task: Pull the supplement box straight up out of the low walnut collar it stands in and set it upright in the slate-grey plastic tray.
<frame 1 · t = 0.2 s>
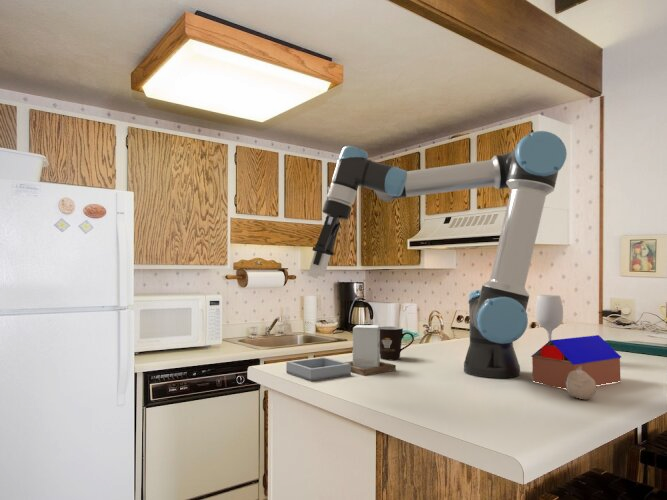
hand: (316, 276, 130), 27 cm above the counter, tool tilted 20°, fingers open, 13 cm apart
garlic bulb: (581, 399, 106), on the counter
grey tray: (318, 373, 132), on the counter
house: (576, 383, 122), on the counter
walnut collar: (366, 369, 138), on the counter
coffee mug: (393, 359, 155), on the counter
wineglass: (550, 361, 151), on the counter
supplement box: (366, 370, 138), resting in walnut collar
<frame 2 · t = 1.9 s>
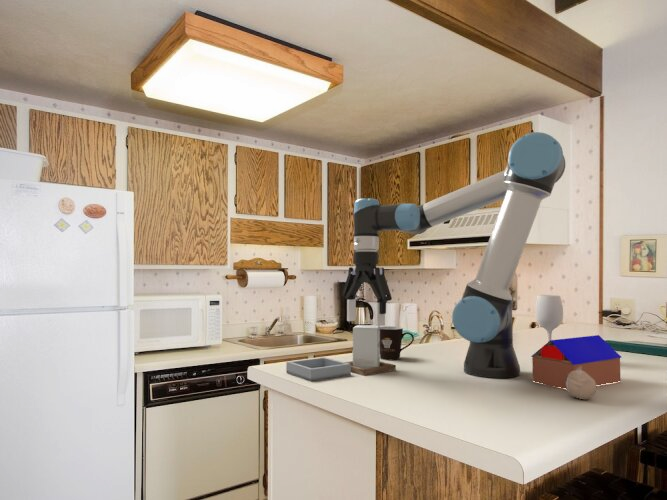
hand: (365, 323, 139), 13 cm above the counter, tool pointing down, fingers open, 13 cm apart
nothing on the counter moved.
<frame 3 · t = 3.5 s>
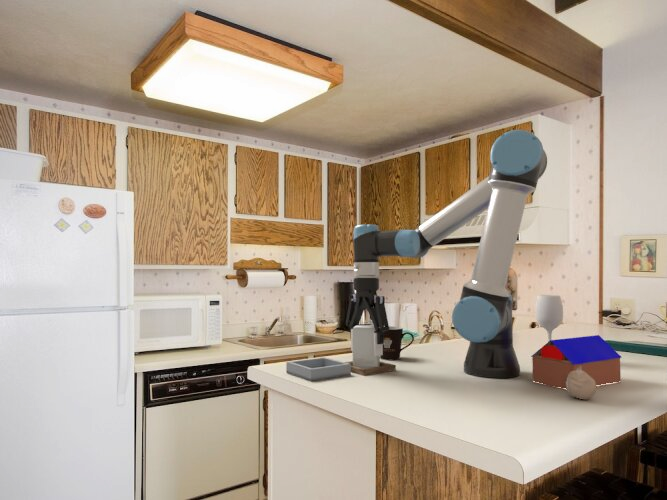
hand: (366, 352, 138), 5 cm above the counter, tool pointing down, fingers closed on supplement box, 10 cm apart
supplement box: (366, 369, 138), resting in walnut collar, touching gripper
everything else where it was.
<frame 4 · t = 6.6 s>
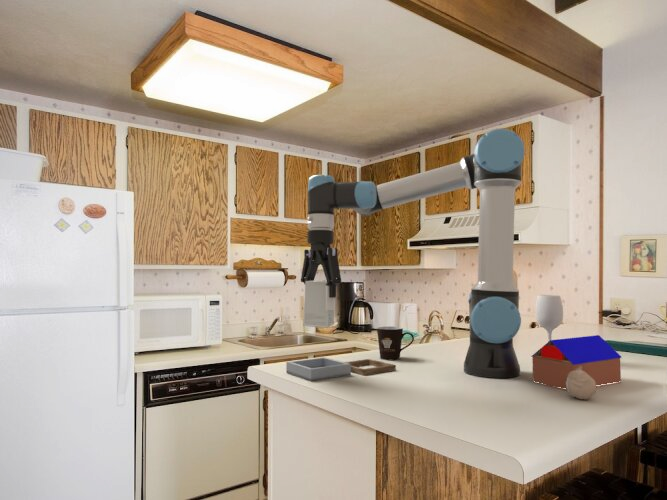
hand: (319, 308, 133), 18 cm above the counter, tool pointing down, fingers closed on supplement box, 10 cm apart
supplement box: (318, 326, 133), point 13 cm above the counter, touching gripper
everything else where it was.
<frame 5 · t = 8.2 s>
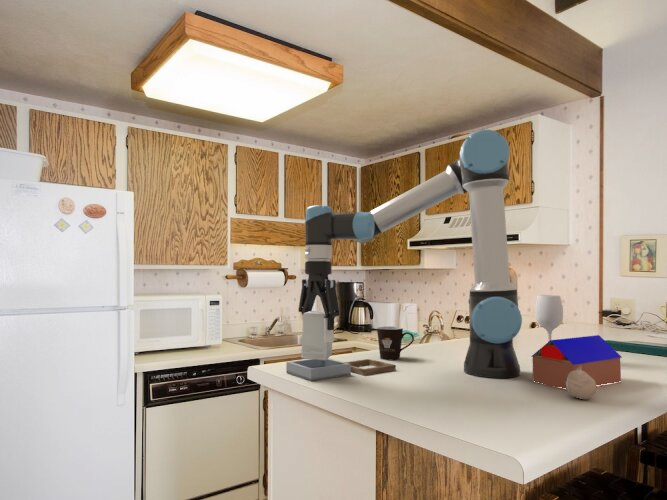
hand: (317, 339, 132), 9 cm above the counter, tool pointing down, fingers closed on supplement box, 10 cm apart
supplement box: (316, 357, 132), point 4 cm above the counter, touching gripper
everything else where it was.
when the fingers open (6 cm above the counter, at t = 9.8 s): supplement box stays where it is, resting on grey tray.
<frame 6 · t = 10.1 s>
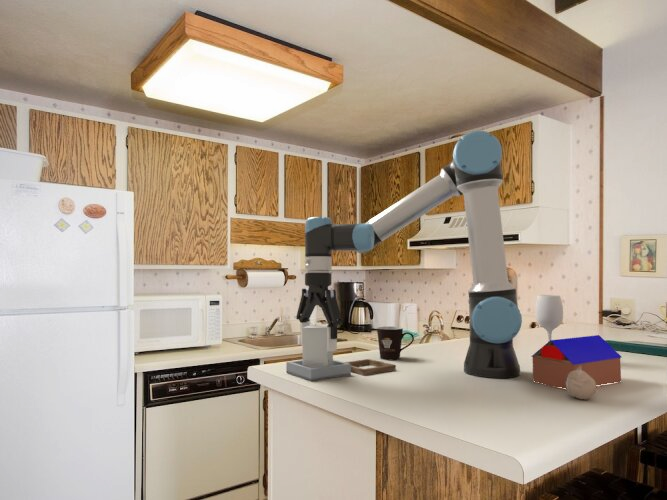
hand: (318, 347, 132), 7 cm above the counter, tool pointing down, fingers open, 13 cm apart
supplement box: (318, 372, 132), resting on grey tray
everything else where it was.
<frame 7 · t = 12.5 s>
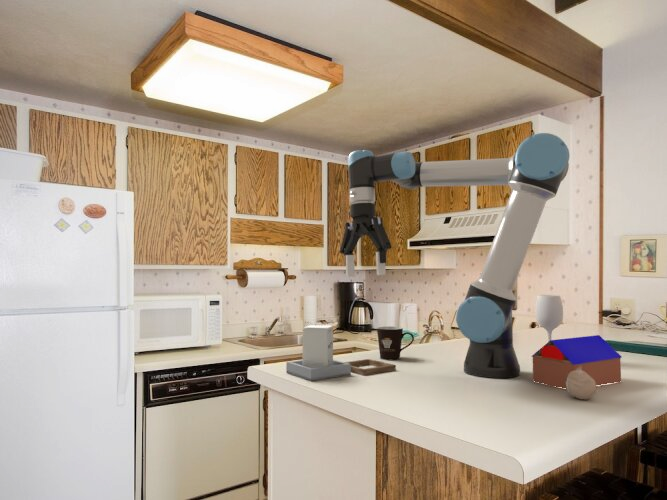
hand: (365, 276, 137), 27 cm above the counter, tool pointing down, fingers open, 13 cm apart
nothing on the counter moved.
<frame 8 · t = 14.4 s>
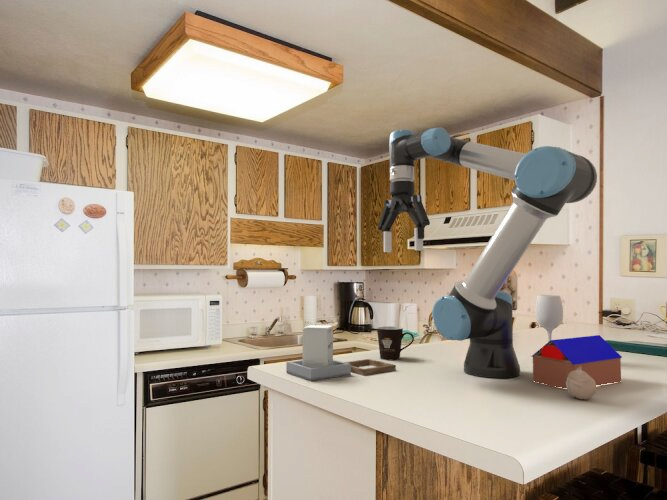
hand: (402, 251, 143), 35 cm above the counter, tool pointing down, fingers open, 13 cm apart
nothing on the counter moved.
at the end: supplement box 0.1 cm off-centre on the grey tray, point 0.4 cm above the grey tray's base; supplement box tilted 0°; the gripper is holding nothing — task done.
